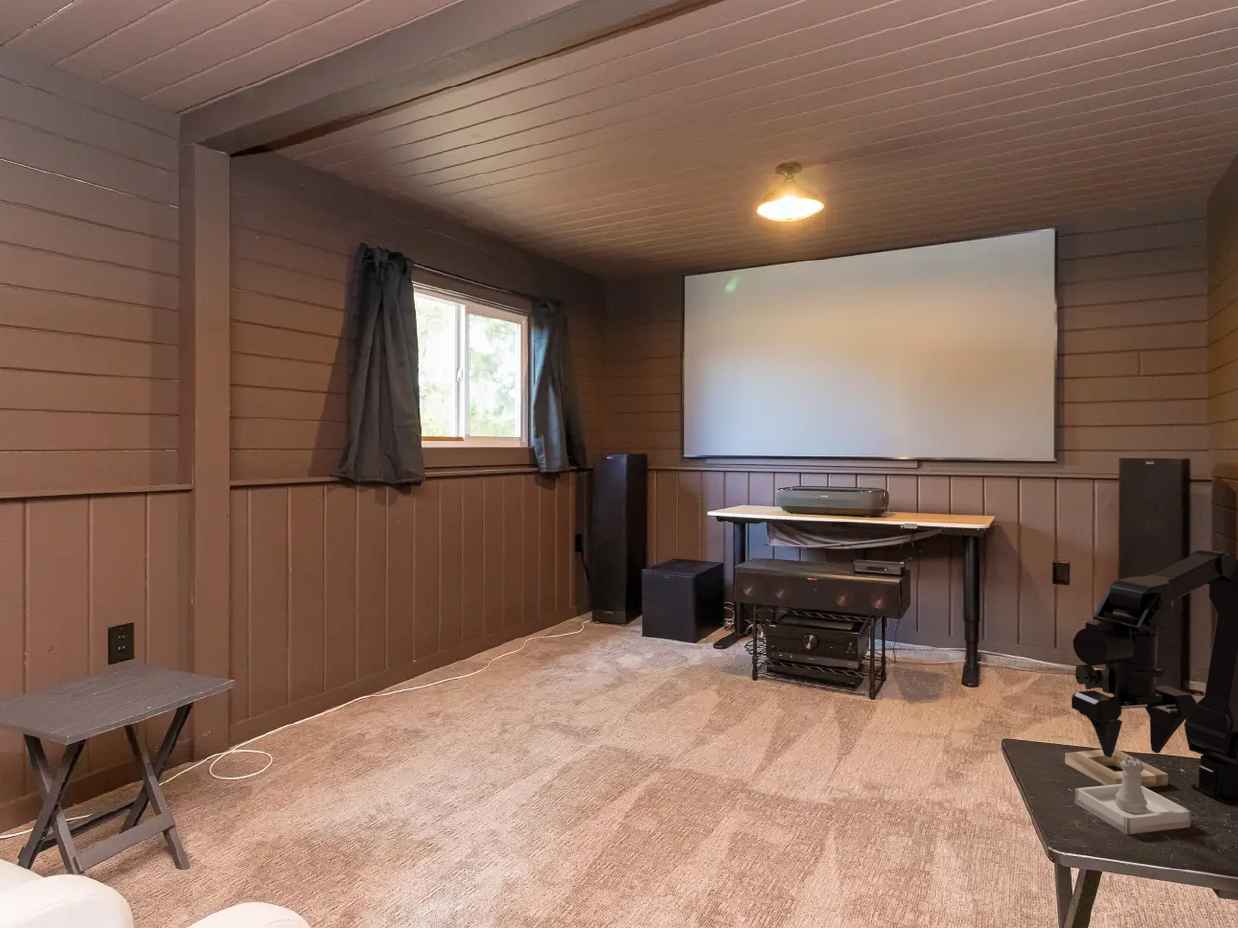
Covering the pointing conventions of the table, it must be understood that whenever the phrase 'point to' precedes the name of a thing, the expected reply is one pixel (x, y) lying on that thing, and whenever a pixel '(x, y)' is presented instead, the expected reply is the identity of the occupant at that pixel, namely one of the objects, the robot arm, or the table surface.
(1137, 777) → the rook chess piece
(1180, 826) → the tray
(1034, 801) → the table surface
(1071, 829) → the table surface
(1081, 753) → the socket block
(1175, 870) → the table surface
